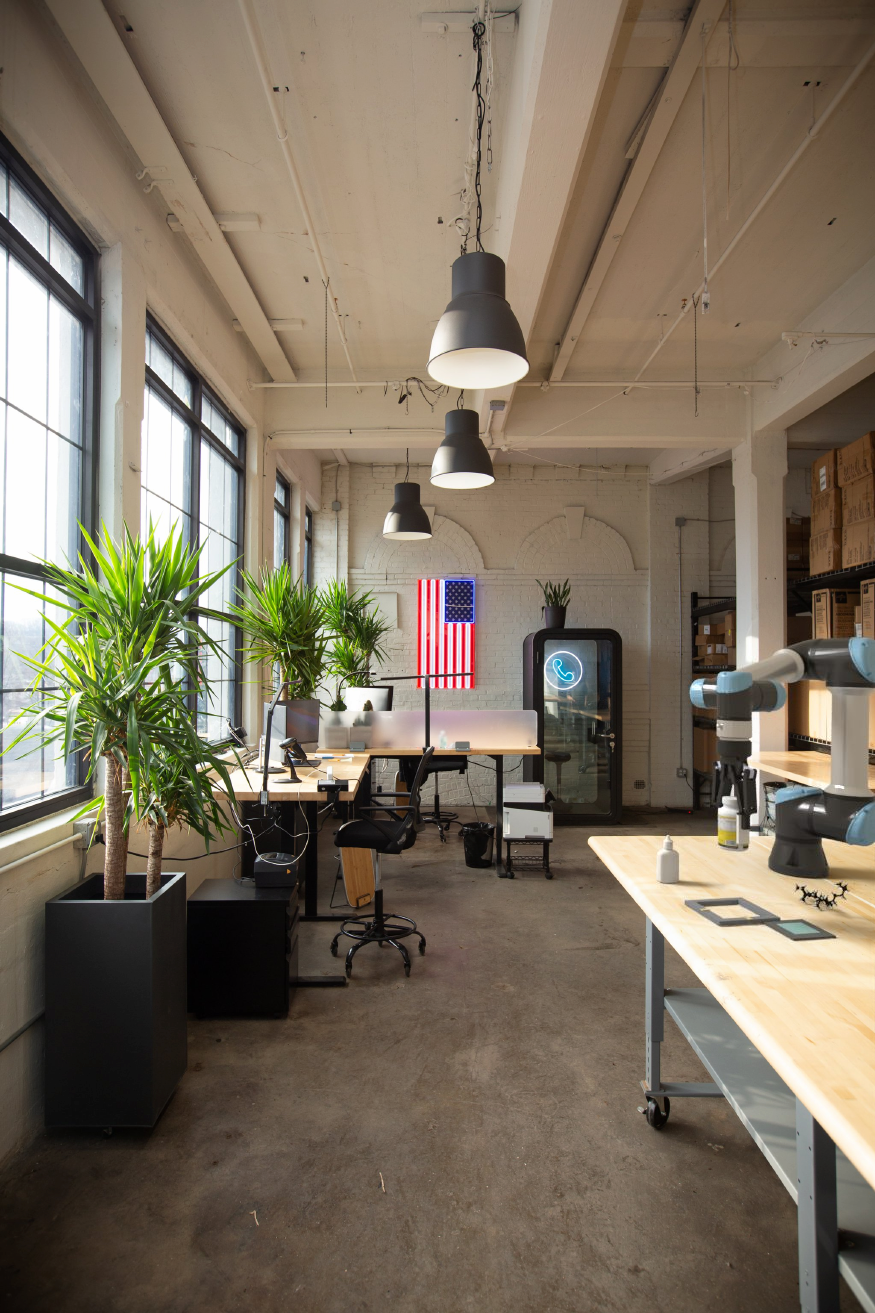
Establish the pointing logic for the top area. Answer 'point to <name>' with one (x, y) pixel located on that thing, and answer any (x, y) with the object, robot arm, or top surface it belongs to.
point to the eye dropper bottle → (667, 863)
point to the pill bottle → (729, 825)
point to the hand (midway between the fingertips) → (733, 839)
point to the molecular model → (821, 898)
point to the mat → (798, 929)
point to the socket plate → (763, 916)
